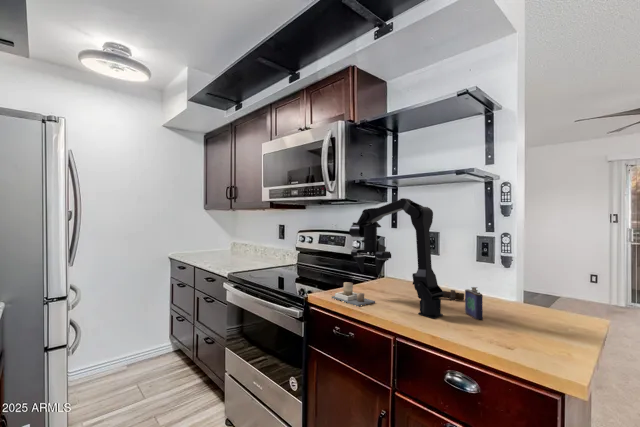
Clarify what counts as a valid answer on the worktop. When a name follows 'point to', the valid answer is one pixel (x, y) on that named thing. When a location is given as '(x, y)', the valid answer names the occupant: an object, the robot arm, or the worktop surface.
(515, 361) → the worktop surface
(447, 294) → the bolt
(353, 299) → the board
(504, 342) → the worktop surface
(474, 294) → the flask
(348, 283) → the beige rounded cylinder
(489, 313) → the worktop surface
